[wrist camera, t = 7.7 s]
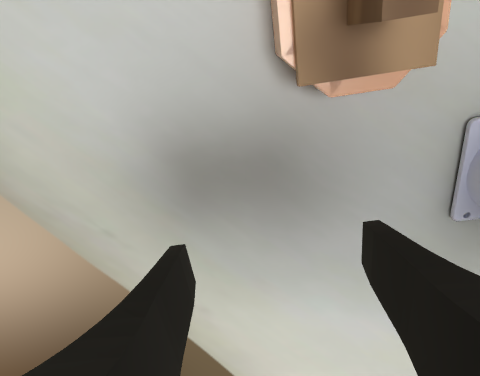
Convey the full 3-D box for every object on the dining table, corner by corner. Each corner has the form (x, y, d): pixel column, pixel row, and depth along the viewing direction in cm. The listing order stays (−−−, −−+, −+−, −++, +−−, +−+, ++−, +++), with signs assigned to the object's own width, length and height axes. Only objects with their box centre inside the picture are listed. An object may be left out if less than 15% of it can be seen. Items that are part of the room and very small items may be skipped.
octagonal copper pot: (428, -99, 15) (468, -128, 13) (412, 74, 19) (440, 80, 16) (264, -68, 16) (269, -89, 13) (279, 95, 20) (285, 104, 17)
